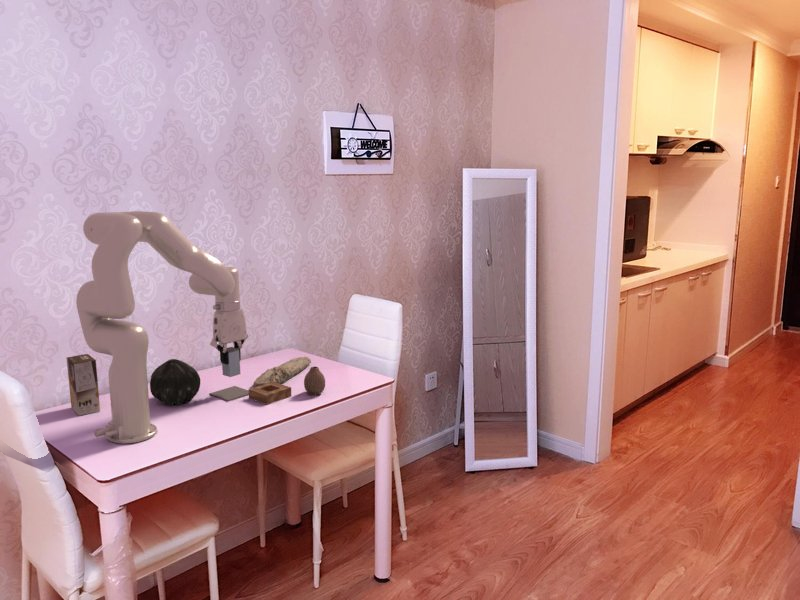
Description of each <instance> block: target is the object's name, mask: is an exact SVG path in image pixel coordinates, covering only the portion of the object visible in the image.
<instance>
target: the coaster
mask: <svg viewBox="0 0 800 600" xmlns="http://www.w3.org/2000/svg"><path fill="white" fill-rule="evenodd" d="M208 394H209V395H210V396H212V397H215V398H218V399H221V400H224V401H226V402H232V401H235V400H237V399H240V398H243V397H246V396H249V391H248V389H245V388H242V387H239V386H237V385H232V386H229V387H227V388H223V389H219V390H216V391H213V392H210V393H208Z"/></svg>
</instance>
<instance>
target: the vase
mask: <svg viewBox="0 0 800 600" xmlns="http://www.w3.org/2000/svg"><path fill="white" fill-rule="evenodd" d="M303 387H304V390H305V392H306V393H307V394H308V395H311V396H319V395H321V394H322V393H323V392H324V391H325V389H326V379H325V376H324V374H323V373H322V372H321V370H320V368H319V367H318V366H311V367H310V368H309V370H308V372H307V373H306V375H305V376H304V380H303Z"/></svg>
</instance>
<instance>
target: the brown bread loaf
mask: <svg viewBox="0 0 800 600" xmlns="http://www.w3.org/2000/svg"><path fill="white" fill-rule="evenodd" d="M311 363H312V360H311V359H310V358H309V357H307V356H300V357H294V358H291V359H290V360H288V361H286V362H284V363H282V364H280V365H279V366H273V367H272V368H270V369H269V368H268V369H266V371H264V372H263V373H261V374H260V376H258V377H257V378H256V379H255V380H254V382H253V388H254V387H257V386H261V385H264V384H267V383H270V382H275V383H279V384H282V385H283V384H285V383H287V382H288V380H290V379H292V378H293V377H294V376H295V375H296V374H300V372H301V371H304V370H305V369H307V368H308V367H309V366H310V364H311Z"/></svg>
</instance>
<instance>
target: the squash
mask: <svg viewBox="0 0 800 600" xmlns="http://www.w3.org/2000/svg"><path fill="white" fill-rule="evenodd" d="M149 380H150V381H149V389H150V394H151V395H152V396H153V398H154V399H156V400H158V401H159V402H162V403H164V404H166V405H167V406H172V405H173V404H175V405H181V404H182V403H188V402H191V401H192V400H193V399H194V398H195V396H197V395H198V393H199V391H200V388H201V377H200V374H199V373H198V371H197V370H196V369H195V368H194V367H193V366H191V365H190V364H188V363H186V362H184V361H182V360H180V359H176V358H171V359H168V360H166V361H165V362H163V363H161V364H159V366H157V368H155V369H154V370H153V372H152V374H151V376H150V379H149Z"/></svg>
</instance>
